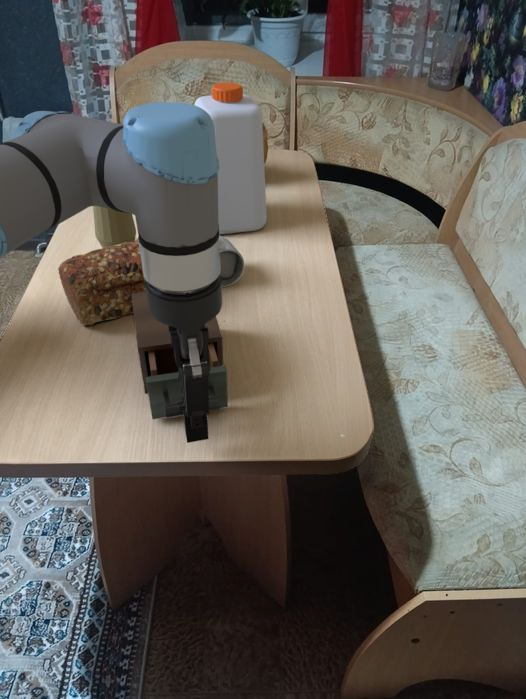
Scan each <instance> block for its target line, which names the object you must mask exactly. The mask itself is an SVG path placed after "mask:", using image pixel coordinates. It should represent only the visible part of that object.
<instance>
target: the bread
mask: <svg viewBox="0 0 526 699" xmlns="http://www.w3.org/2000/svg"><path fill="white" fill-rule="evenodd" d="M57 270H58V275H59V279H60V283H61V286H62V289H63V291H64V293H65V296H66V300H67V302H68V304H69V305H70V308H71V309H72V312H73V313H74V314H75V317H76V318H77V320H78V321H79V323H80V324H81V326H93V325H95V323H98V322H103V321H107V320H108V321H111V320H114V319H117V318H121V317H124V316H127V315H131V314H134V312H133V304H132V295H131V293H140V292H146V287H145V281H146V280H145V278H144V275H143V269H142V262H141V255H140V248H139V241H134V242H128V243H126V242H125V243H121V244H116V245H114V246H109V247H105V248H102V247H101V248H99V249H95V250H90V251H88V252H86V253H84V254H77V255H73V256H72V257H69V258H67V259H66V260H63V261H62V262H61V263H60V264H59V265H58V268H57Z"/></svg>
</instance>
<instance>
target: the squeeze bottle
mask: <svg viewBox="0 0 526 699" xmlns="http://www.w3.org/2000/svg"><path fill="white" fill-rule="evenodd" d="M92 211H93V222H94V234H95V238H96V239H97V241H98V244H99V245H100V246H101V249H102V248H105V247H109V246H114V245H116V244H121V243H125V242H126V243H128V242H136V241H135V240H136V236H137V227H136V224H135V220H134V217H133V216H134V215H133V214H132V213H124V212H120V211H115V210H111V209H107V208H103V207H99V206H92Z"/></svg>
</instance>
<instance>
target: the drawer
mask: <svg viewBox="0 0 526 699" xmlns="http://www.w3.org/2000/svg"><path fill="white" fill-rule="evenodd" d="M207 353H208V362H207V363H208V364H209V366H210V372H209V409H210V410H209V412H215V411H220V410H221V409H224V408H225V409H226V408H228V406H229V405H228V403H229V402H228V370H227V367H226V365H224V364H223V366H218V359H217V355H216V352H215V348H214V345H213V342H211V343H208V345H207ZM148 354H149V362H150V369H151V376H149V377H146V381H147V388H148V393H147V394H148V400H149V405H150V407H149V408H150V412H151V419H152V420H156V419H162V418H165V419H171V418H177V417H184V415H183V411H179V408H178V402H182V397H184V395H182V392H181V390H180V388H181V381H180V379H179V378H178V373H179V371H178V367H177V365H176V360H175V353H174V350H173V348H167V349H159V350H152V351H148Z"/></svg>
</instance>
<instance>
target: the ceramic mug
mask: <svg viewBox="0 0 526 699" xmlns="http://www.w3.org/2000/svg"><path fill="white" fill-rule="evenodd" d="M220 240H224V242H225V244H226V249H225V250H222V251H218V252H219V255H220V267H221V269H220V276H221V281H222V288H227V287H230V286H233V285H234V284H236V283H237V282H238V281H239V280H240V279H241V277H242V276H243V274H244V271H245V260H244V257H243V255H242V254H241V252H240V251H239V250H238V249H237V247H235V246H234V244H233V243H232V242H231V241H230V240H229V239H228V238H226V237H224V236H222V235H219V241H220Z"/></svg>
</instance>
